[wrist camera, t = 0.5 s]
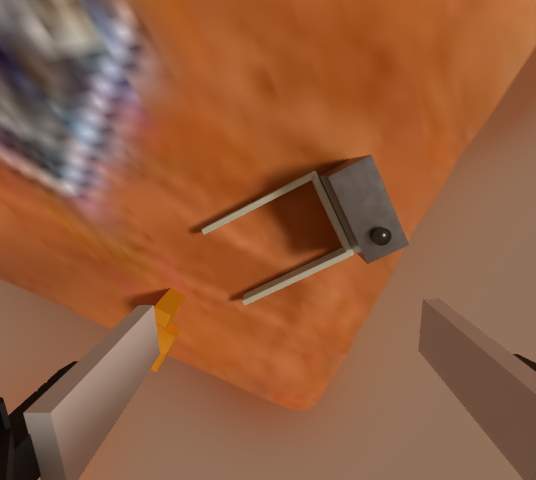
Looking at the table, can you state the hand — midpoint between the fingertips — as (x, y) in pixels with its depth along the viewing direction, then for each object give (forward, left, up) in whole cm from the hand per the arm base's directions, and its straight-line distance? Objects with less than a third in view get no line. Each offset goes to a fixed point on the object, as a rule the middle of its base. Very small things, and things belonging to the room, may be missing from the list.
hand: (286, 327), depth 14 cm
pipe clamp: (+6, -23, -29) cm, 37 cm away
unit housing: (+2, +10, -28) cm, 30 cm away
